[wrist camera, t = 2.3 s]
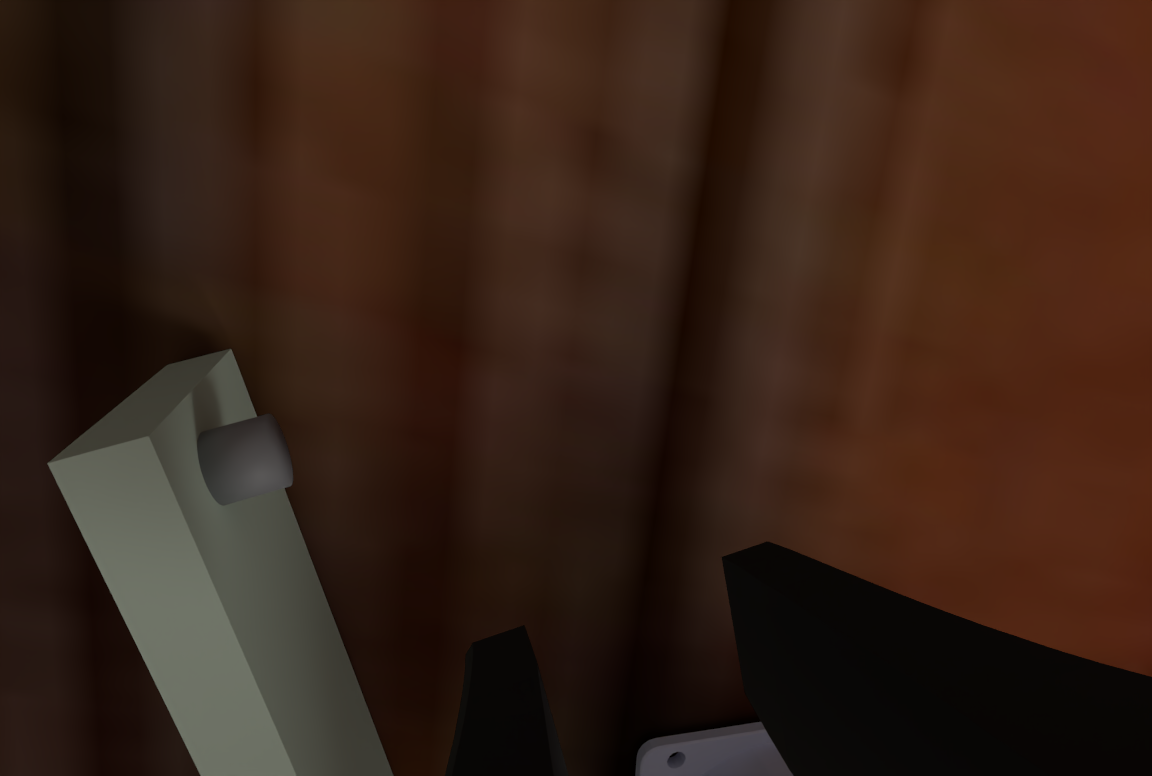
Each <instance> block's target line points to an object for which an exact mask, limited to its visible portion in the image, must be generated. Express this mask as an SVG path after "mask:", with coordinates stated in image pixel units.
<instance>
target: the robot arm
mask: <svg viewBox="0 0 1152 776" xmlns="http://www.w3.org/2000/svg"><path fill="white" fill-rule="evenodd" d="M722 561H723V567H724V573H725V579H726V585H727V591H728V597H729V603H730V609H731V615H732V620H733V626H734V632H735V638H736V644H737V650H738V656H739V662H740V668H741V674H742V679H743V685H744V691H745V694H746V696H747V698H748V699H749V701H750V703H751V705H752V707H753V708H754V710H755V712H756V714H757V715H758V717H759V719H760V721H761V722H756V723H749V724H743V725H736V726H730V727H723V728H717V729H710V730H704V731H697V732H691V733H684V734H678V735H671V736H665V737H658V738H654V739H651V740H648V741H647V742H645V743H644V744H643V745H642V746H641V748H640V749H639V750H638V754H637V760H636V773H635V776H1152V677H1150V676H1146V675H1142V674H1139V673H1135V672H1131V671H1127V670H1124V669H1120V668H1116V667H1113V666H1109V665H1105V664H1102V663H1098V662H1095V661H1092V660H1088V659H1085V658H1082V657H1078V656H1075V655H1072V654H1068V653H1065V652H1062V651H1059V650H1056V649H1052V648H1049V647H1046V646H1043V645H1040V644H1037V643H1034V642H1031V641H1028V640H1025V639H1022V638H1019V637H1017V636H1014V635H1011V634H1008V633H1005V632H1002V631H999V630H996V629H993V628H990V627H987V626H984V625H981V624H978V623H975V622H973V621H970V620H967V619H964V618H962V617H959V616H956V615H953V614H951V613H948V612H945V611H942V610H940V609H937V608H935V607H932V606H929V605H927V604H924V603H921V602H919V601H916V600H914V599H911V598H909V597H906V596H903V595H901V594H898V593H896V592H893V591H891V590H888V589H886V588H883V587H881V586H878V585H876V584H873V583H871V582H868V581H866V580H863V579H861V578H858V577H856V576H854V575H851V574H849V573H846V572H844V571H841V570H839V569H837V568H834V567H832V566H829V565H827V564H824V563H822V562H819V561H817V560H815V559H812V558H810V557H807V556H805V555H802V554H800V553H797V552H795V551H792V550H790V549H787V548H784V547H782V546H779V545H776V544H773V543H770V542H765V543H762V544H759V545H756V546H753V547H750V548H747V549H744V550H741V551H738V552H736V553H733V554H730V555H727V556H724V557H722ZM675 752H678V753H677V754H676V755H675V756H673V757H670V756H671V755H672V754H673V753H675ZM669 757H670V758H669ZM445 776H569V775H568V772H567V768H566V764H565V761H564V757H563V754H562V750H561V746H560V743H559V739H558V736H557V732H556V729H555V725H554V721H553V718H552V714H551V711H550V707H549V703H548V700H547V696H546V693H545V689H544V686H543V682H542V678H541V675H540V671H539V668H538V664H537V661H536V658H535V655H534V652H533V649H532V646H531V643H530V640H529V637H528V634H527V631H526V629H525V626H524V625H523V626H520V627H517V628H515V629H512V630H509V631H506V632H503V633H500V634H497V635H494V636H491V637H488V638H486V639H483V640H480V641H477V642H474V643H472V645H471V647H470V648H469V650H468V652H467V653H466V659H465V675H464V684H463V691H462V698H461V704H460V710H459V715H458V720H457V726H456V731H455V736H454V741H453V745H452V749H451V753H450V757H449V761H448V765H447V770H446V774H445Z"/></svg>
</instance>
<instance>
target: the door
mask: <svg viewBox="0 0 1152 776" xmlns="http://www.w3.org/2000/svg"><path fill="white" fill-rule="evenodd" d="M47 464H48V466H49V468H50V470H51V472H52V474H53V476H54V478H55V480H56V482H57V484H58V486H59V488H60V490H61V492H62V494H63V496H64V498H65V500H66V502H67V504H68V506H69V508H70V511H71V513H72V515H73V517H74V519H75V521H76V523H77V525H78V527H79V529H80V531H81V533H82V535H83V537H84V539H85V541H86V543H87V545H88V547H89V549H90V551H91V553H92V555H93V557H94V559H95V561H96V563H97V566H98V568H99V570H100V572H101V574H102V576H103V578H104V580H105V582H106V584H107V586H108V588H109V590H110V592H111V594H112V596H113V598H114V600H115V602H116V604H117V606H118V608H119V610H120V612H121V614H122V616H123V618H124V621H125V623H126V625H127V627H128V629H129V631H130V633H131V635H132V637H133V639H134V641H135V643H136V645H137V647H138V649H139V651H140V653H141V655H142V657H143V659H144V661H145V663H146V665H147V667H148V669H149V671H150V673H151V676H152V678H153V680H154V682H155V684H156V686H157V688H158V690H159V692H160V694H161V696H162V698H163V700H164V702H165V704H166V706H167V708H168V710H169V712H170V714H171V716H172V718H173V720H174V722H175V724H176V726H177V728H178V731H179V733H180V735H181V737H182V739H183V741H184V743H185V745H186V747H187V749H188V751H189V753H190V755H191V757H192V759H193V761H194V763H195V765H196V767H197V769H198V771H199V773H200V775H201V776H393V773H392V771H391V768H390V765H389V763H388V760H387V757H386V755H385V752H384V750H383V747H382V744H381V742H380V739H379V736H378V734H377V731H376V728H375V726H374V723H373V721H372V718H371V715H370V713H369V710H368V707H367V705H366V702H365V699H364V697H363V694H362V692H361V689H360V686H359V684H358V681H357V678H356V676H355V673H354V671H353V668H352V665H351V663H350V660H349V657H348V655H347V652H346V649H345V647H344V644H343V642H342V639H341V636H340V634H339V631H338V628H337V626H336V623H335V621H334V618H333V615H332V613H331V610H330V607H329V605H328V602H327V599H326V597H325V594H324V592H323V589H322V586H321V584H320V581H319V578H318V576H317V573H316V571H315V568H314V565H313V563H312V560H311V557H310V555H309V552H308V549H307V547H306V544H305V542H304V539H303V536H302V534H301V531H300V528H299V526H298V523H297V520H296V518H295V515H294V513H293V510H292V507H291V505H290V502H289V499H288V497H287V494H286V492H285V489H284V488H286V487H290V486H291V485H292V482H293V469H292V463H291V458H290V454H289V450H288V446H287V443H286V440H285V437H284V435H283V432H282V430H281V428H280V426H279V424H278V422H277V421H276V419H275V418H274V416H273V415H271V414H265V415H261V416H258V417H257V415H256V413H255V410H254V407H253V405H252V402H251V399H250V397H249V394H248V391H247V389H246V386H245V384H244V381H243V378H242V376H241V373H240V370H239V368H238V365H237V363H236V360H235V357H234V355H233V352H232V349H227V350H223V351H220V352H216V353H212V354H208V355H204V356H200V357H196V358H192V359H188V360H184V361H180V362H176V363H172V364H169V365H166V366H165V367H164V368H163V369H161V370H160V371H159V372H158V373H157V374H155V375H154V376H153V377H152V378H151V379H149V380H148V381H147V382H146V383H144V384H143V385H142V386H141V387H140V388H138V389H137V390H136V391H135V392H133V393H132V394H131V395H130V396H129V397H127V398H126V399H125V400H124V401H123V402H121V403H120V404H119V405H118V406H116V407H115V408H114V409H113V410H112V411H110V412H109V413H108V414H107V415H106V416H104V417H103V418H102V419H101V420H99V421H98V422H97V423H96V424H95V425H93V426H92V427H91V428H90V429H89V430H87V431H86V432H85V433H84V434H82V435H81V436H80V437H79V438H78V439H76V440H75V441H74V442H73V443H71V444H70V445H69V446H68V447H67V448H65V449H64V450H63V451H62V452H61V453H59V454H58V455H57V456H56V457H54V458H53V459H52V460H51V461H50V462H48V463H47Z"/></svg>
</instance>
